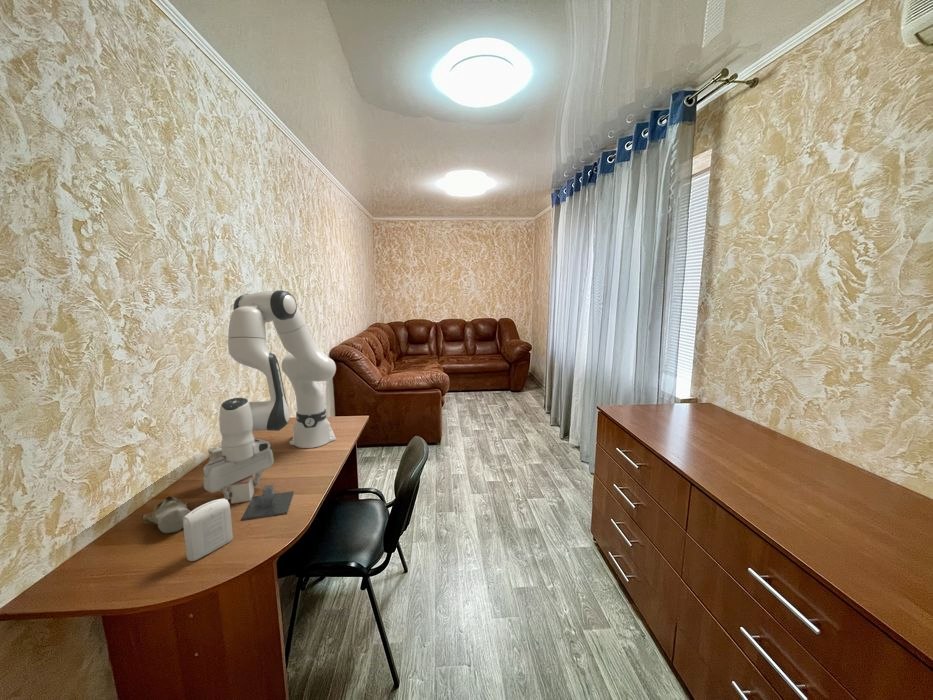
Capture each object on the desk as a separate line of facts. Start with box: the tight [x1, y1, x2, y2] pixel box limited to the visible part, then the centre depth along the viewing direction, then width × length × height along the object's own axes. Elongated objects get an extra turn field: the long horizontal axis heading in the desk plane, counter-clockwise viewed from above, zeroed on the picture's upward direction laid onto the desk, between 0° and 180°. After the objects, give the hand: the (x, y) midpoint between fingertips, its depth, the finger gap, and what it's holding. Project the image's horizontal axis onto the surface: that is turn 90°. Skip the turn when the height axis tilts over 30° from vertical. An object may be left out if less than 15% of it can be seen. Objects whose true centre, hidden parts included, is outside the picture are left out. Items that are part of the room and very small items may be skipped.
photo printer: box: [183, 498, 234, 562], centre depth 93 cm, size 10×4×12 cm, turn 152°
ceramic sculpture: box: [141, 496, 192, 534], centre depth 103 cm, size 11×9×15 cm
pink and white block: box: [229, 475, 255, 504], centre depth 116 cm, size 5×5×7 cm
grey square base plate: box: [241, 484, 295, 521], centre depth 112 cm, size 12×12×6 cm
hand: (242, 491), depth 116 cm, fingers closed on pink and white block, 7 cm apart
